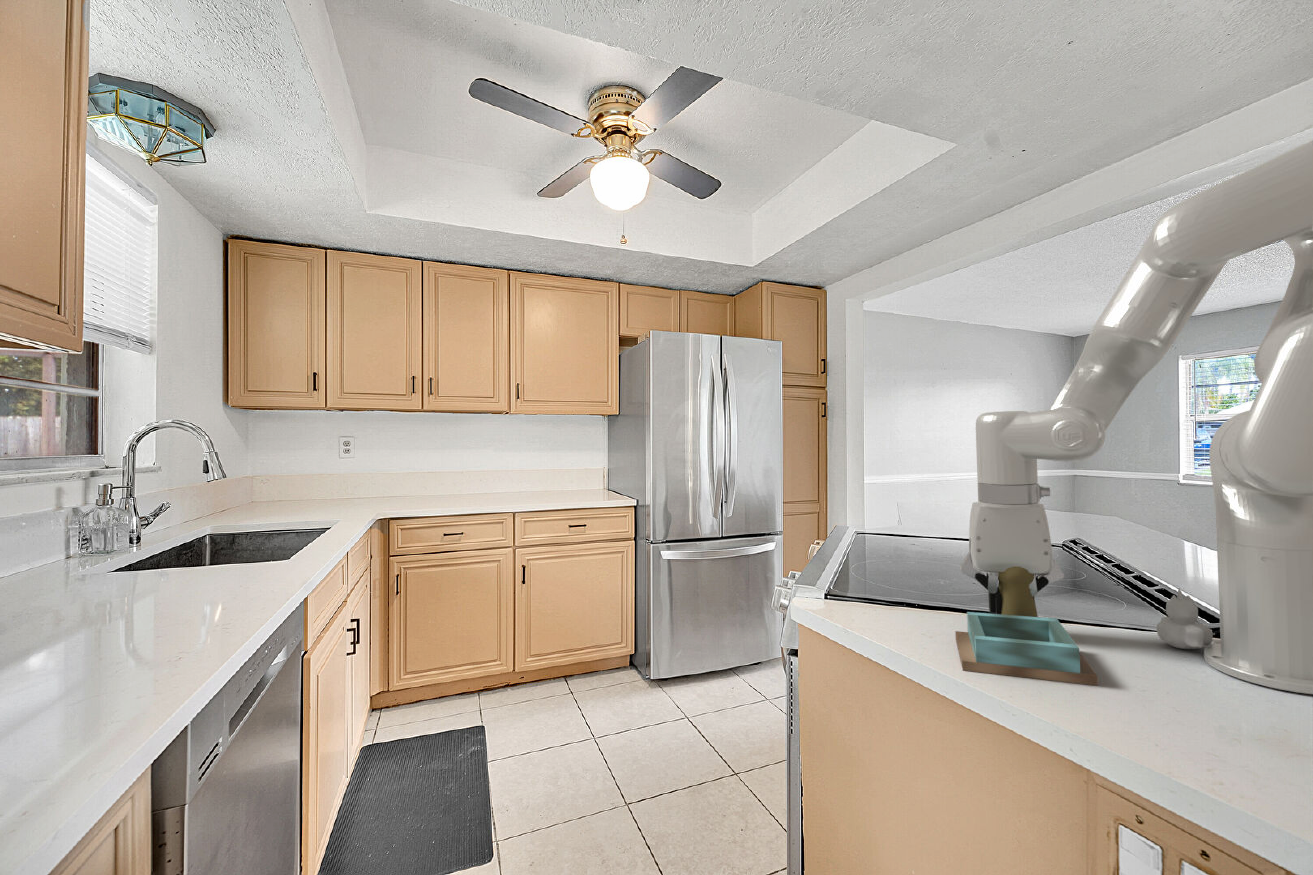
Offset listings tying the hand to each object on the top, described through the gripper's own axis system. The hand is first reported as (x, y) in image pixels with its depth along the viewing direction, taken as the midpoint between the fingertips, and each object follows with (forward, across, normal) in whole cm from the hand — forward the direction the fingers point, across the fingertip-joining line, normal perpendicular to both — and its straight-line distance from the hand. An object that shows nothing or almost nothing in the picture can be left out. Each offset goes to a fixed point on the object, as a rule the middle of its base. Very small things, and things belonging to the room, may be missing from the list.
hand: (1011, 617), depth 83 cm
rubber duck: (+2, -20, 0) cm, 20 cm away
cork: (+2, -1, 0) cm, 3 cm away
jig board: (+2, +1, +10) cm, 10 cm away
